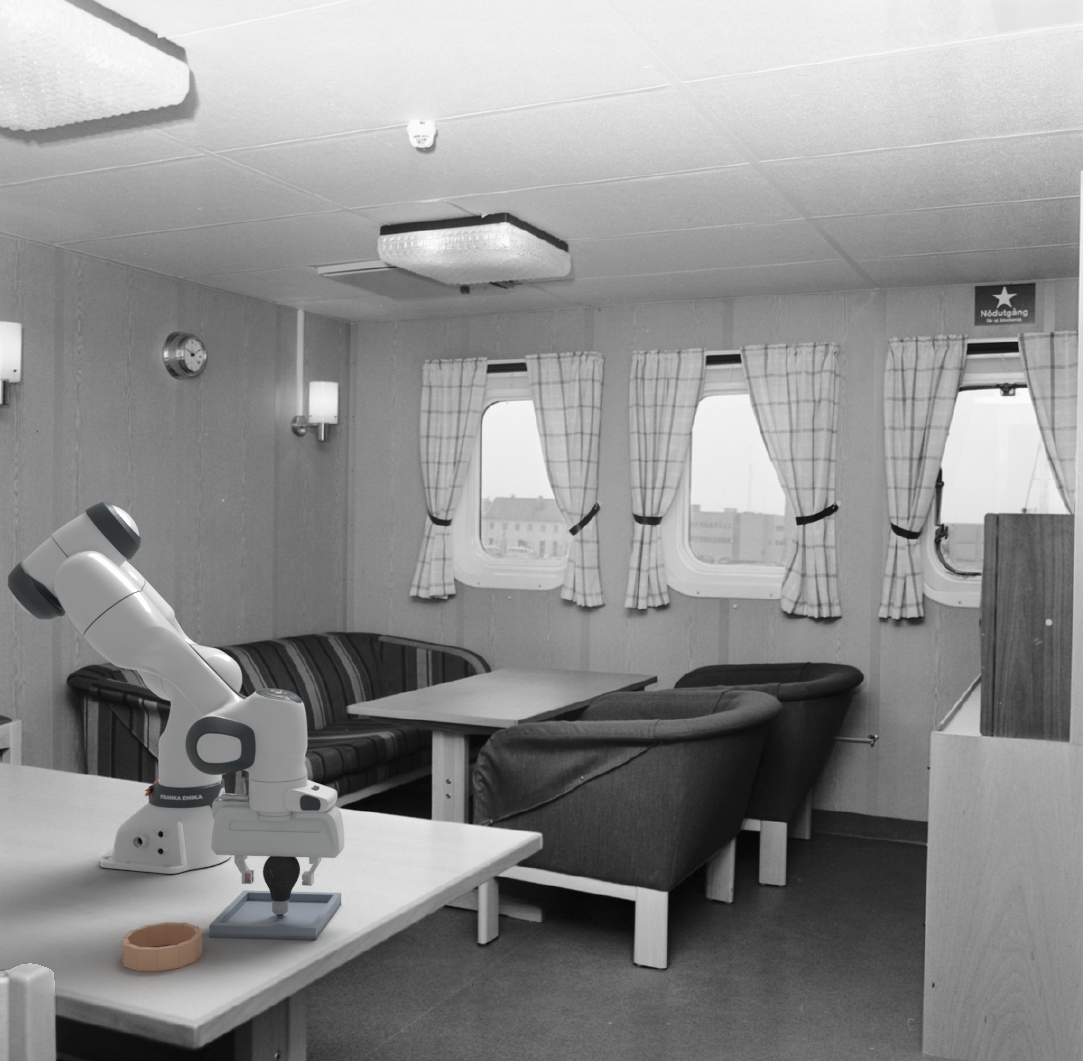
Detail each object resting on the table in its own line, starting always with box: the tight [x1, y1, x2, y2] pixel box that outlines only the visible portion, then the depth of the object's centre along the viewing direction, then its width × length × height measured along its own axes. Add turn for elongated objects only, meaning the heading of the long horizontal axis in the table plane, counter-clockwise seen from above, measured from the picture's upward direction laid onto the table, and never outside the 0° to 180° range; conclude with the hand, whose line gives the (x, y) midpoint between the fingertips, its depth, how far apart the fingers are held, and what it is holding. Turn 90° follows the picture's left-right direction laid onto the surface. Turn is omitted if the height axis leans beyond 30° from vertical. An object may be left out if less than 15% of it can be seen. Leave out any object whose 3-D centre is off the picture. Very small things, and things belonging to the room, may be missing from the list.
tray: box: [208, 889, 342, 941], centre depth 181 cm, size 16×16×2 cm
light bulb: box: [262, 856, 301, 917], centre depth 180 cm, size 6×6×10 cm
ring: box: [120, 921, 203, 972], centre depth 166 cm, size 11×11×3 cm
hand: (277, 883), depth 181 cm, fingers open, 8 cm apart
